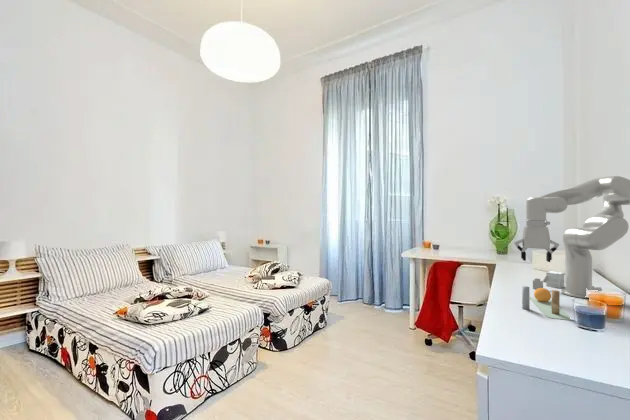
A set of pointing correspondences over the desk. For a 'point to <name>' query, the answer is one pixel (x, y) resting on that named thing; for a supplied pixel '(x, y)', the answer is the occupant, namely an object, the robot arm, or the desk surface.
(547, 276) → the grey stepped block
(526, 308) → the grey pin
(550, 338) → the desk surface
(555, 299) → the maple pin
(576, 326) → the desk surface
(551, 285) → the skincare box
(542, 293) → the ball
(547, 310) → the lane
